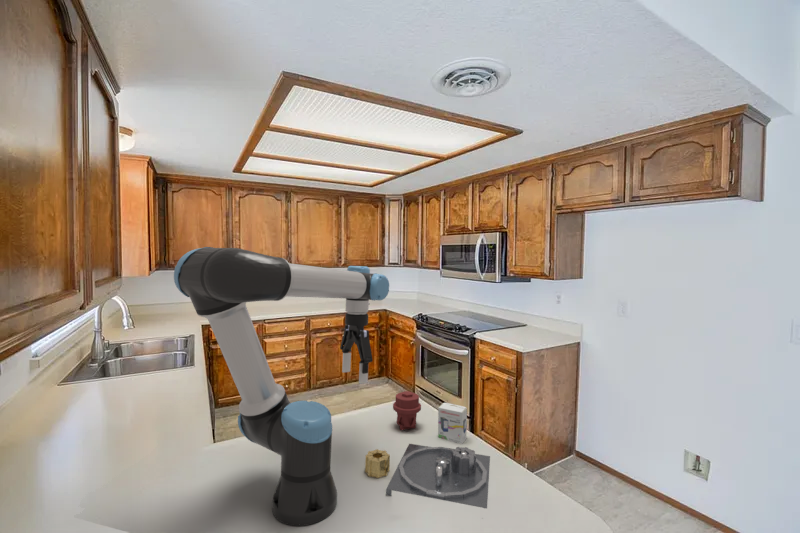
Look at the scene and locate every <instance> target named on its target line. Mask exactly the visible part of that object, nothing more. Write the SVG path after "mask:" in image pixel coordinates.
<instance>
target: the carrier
mask: <svg viewBox="0 0 800 533" xmlns="http://www.w3.org/2000/svg"><path fill="white" fill-rule="evenodd" d="M454 449H455V448H449V447H444V446H426V445H422V444H421V445H420V444H414V443H408V445H407V448H405V450H404V451H405V452H404V453H403V455H402V457H401V458H400V461H399V463H398V465H397V467H396V469H395V471H394V473H393V475H392V477H391V479H390V481H389V482H388V485H387V487H386V490H385V496H390V497H392V491H394V492H400V493H404V494H410V495H414V496H418V497H419V496H420V497H423V498H424V497H425V498H430V499H434V500H440V501H445V502H451V503H456V504H457V503H458V504H463V505H467V506H471V507H478V508H483V509H488V500H489V499H488V496H489V479H490V478H489V477H490V467H491V466H490V462H491V456H489V455H485V454H479V453H478V454H477V453H475V455H476V472H473V473H472V474H471V475H459V473H457V472H455V471H453V470H452V467H451V460H452V450H454ZM461 455H467V453H466V452H464V451H463V452H461Z"/></svg>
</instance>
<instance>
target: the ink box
mask: <svg viewBox="0 0 800 533" xmlns="http://www.w3.org/2000/svg"><path fill="white" fill-rule="evenodd" d="M437 408H438V409H437V410H438V412H437V418H438V420H437V423H438V425H437V426H438V428H437V430H438V431H437V434H438V435H437V436H438V438H439V439H442V440H446V441H449V442H454V443H458V444H461V445H462V444H464V442H465V441H466V440H467V427H468V426H467V423H468V414H467V413H468V408H467V407H466V406H463V405H460V404H454V403H449V402H443V403H441V404H440V406H438V407H437Z"/></svg>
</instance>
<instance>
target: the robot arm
mask: <svg viewBox="0 0 800 533" xmlns="http://www.w3.org/2000/svg"><path fill="white" fill-rule="evenodd" d="M173 281H174V284H175V286H176V288H177V289H178V291H179V293H182V295H184V296H185V297H187V298H189V299H190V300H191V304H192V306H193V308H194V310H195V313H196V314H197V316H199V317H201V318H205V319H206V320H208V322H209V325H210V328H211V330H212V333H213V335H214V338H215V340H216V342H217V344H218V347H219V349H220V352H221V353H222V356H223V358H224V361H225V363H226V365H227V367H228V369H229V370H228V371H229V373H230V374H231V375H230V376H231V377H232V380H233V382H234V384H235V386H236V389H237V391H238V394H239V396H240V399H241V401H239V405H238V410H239V415H238V416H237V424H238V425H237V426H238V428H239V431H240V433H241V434H242V435H243V436H244V438H246V439H247V440H248V441H250V442H251V443H254V444H256V445H259V446H260V447H263V448H265V449H267V450H269V451H272V452H273V453H275V454H277V455H279V456H280V458H281V459H280V460H281V462H280V477H279V479H278V482H277V485H276V489H275V491H274V493H273V497H272V509H271V510H272V514H273V516H274V518H275V519H276V520H277V521H279V522H280V523H283V524H284V525H288V526H308V525H312V524H316V523H318V522H321V521H324V519H326V518H328V517H329V516H330V515H331V514H332V513H333V512H334V510H335V509H336V506H337V503H338V492H337V491H338V490H337V487H336V484H335V480H334V477H333V473H332V471H331V467H332V466H331V463H332V462H331V461H332V459H331V458H332V443H333V442H332V440H333V439H332V437H333V436H332V435H333V423H332V414H331V411H330V410H329V408H328V407H327V406H325V405H324V404H322V403H320V402H317V401H313V400H311V401H308V400H297V401H292V402H290V399H289V397H288V394H287V392H286V389H285V388H284V386H283V385H282V384H280V383H276V381H275V379H274V376H273V373H272V370H271V368H270V365H269V363H268V360H267V357H266V354H265V352H264V349H263V347H262V345H261V341H260V339H259V337H258V334H257V331H256V328H255V325H254V323H253V320H252V318H251V315H250V313H249V310H248V307H247V303H252V302H253V303H254V302H263V301H267V302H268V301H269V302H270V301H271V302H273V301H274V302H278V301H281V300H284V299H285V298H286V297H295V298H319V299H320V298H323V299H345V309H344V310H345V312H346V313H345V316H344V318H345V319H344V330H343V335H342V338H341V342H340V347H339V348H340V350H341V352H342V367H341V369H342V370H341V373H343V374H344V373H350V372H351V366H352V364H351V363H352V361H351V360H352V348H353V346H354V344H355V345H356V347H357V351H358V354H359V358H360V360H359V362H358V364H359V367H358V368H359V371H358V384H359V385H360V384H368V382H369V363H372V362H373V355H372V349H371V348H372V347H371V343H370V342H371V341H370V331H369V330H368V329H367V330H365V328H364V327H365V326H367V325H368V324H369V314H368V312H369V307H370V300H371V301H383V300H385V299H386V298H387V297H388V294H389V292H390V281H389V279H388V278H387V276H386V275H384V274H382V273H381V274H380V273H371V269H370V268H369V267H368V266H366V265H365V266H362V265H361V266H360V265H349V266H348V267H347V270H345V269H337V268H329V267H320V266H313V265H307V264H306V265H305V264H296V263H290V262H288V260H287V259H286V258H283V257H279V256H272V255H268V254H263V253H258V252H255V251H252V250H249V249H248V250H247V249H243V248H239V247H238V248H237V247H211V246H205V247H200V248H195V249H192V250H190V251H187V252H186V253H184V254H183V255H182V256H181V257H180V258H179V259H178V261H177V263H176V265H175V267H174V270H173Z"/></svg>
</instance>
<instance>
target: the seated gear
mask: <svg viewBox="0 0 800 533" xmlns="http://www.w3.org/2000/svg"><path fill="white" fill-rule="evenodd" d="M453 449H454V450H452V460H451V467H452V470H453V471H455V472H457V473H459V475H471V474H472V473H473V472H476V455H475V454H476V451H475V450H474V449H470V448H469V447H466V446H465V447H460V446H457V447H455V448H453ZM463 451H464V452H466V453H467V455H461V452H463Z"/></svg>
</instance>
